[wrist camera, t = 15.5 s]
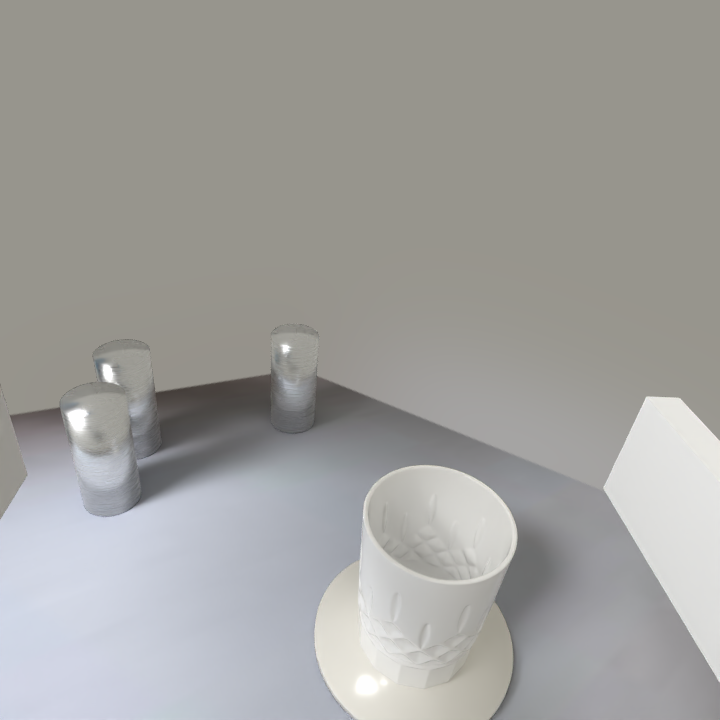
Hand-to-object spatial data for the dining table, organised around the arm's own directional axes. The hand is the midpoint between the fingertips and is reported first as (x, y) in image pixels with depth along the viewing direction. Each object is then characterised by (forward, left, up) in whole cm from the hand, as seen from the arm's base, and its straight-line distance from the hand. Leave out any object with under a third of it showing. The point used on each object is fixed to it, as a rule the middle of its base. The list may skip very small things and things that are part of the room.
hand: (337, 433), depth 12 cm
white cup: (+2, +12, -24) cm, 27 cm away
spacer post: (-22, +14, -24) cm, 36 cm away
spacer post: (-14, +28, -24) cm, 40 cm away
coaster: (+2, +12, -24) cm, 27 cm away
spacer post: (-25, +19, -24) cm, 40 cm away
